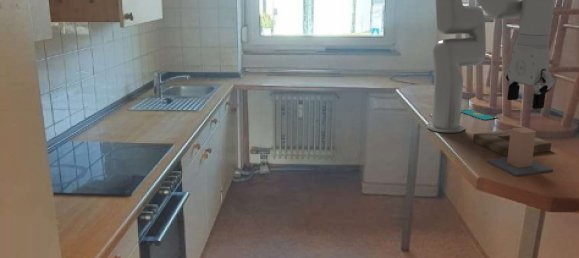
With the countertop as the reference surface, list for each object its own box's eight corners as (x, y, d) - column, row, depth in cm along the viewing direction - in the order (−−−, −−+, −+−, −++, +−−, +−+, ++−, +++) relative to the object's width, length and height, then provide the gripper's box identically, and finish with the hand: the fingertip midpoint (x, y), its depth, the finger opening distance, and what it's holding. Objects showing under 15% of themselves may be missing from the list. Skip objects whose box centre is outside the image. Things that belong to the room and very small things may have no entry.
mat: (487, 161, 145) (487, 159, 144) (521, 157, 148) (522, 155, 148) (515, 176, 134) (515, 174, 133) (552, 170, 137) (553, 168, 136)
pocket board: (472, 141, 163) (473, 133, 163) (514, 136, 167) (515, 129, 167) (505, 156, 149) (506, 148, 148) (550, 150, 153) (551, 143, 152)
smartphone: (483, 119, 187) (457, 110, 200) (483, 121, 187) (457, 112, 201) (499, 117, 189) (472, 108, 203) (499, 119, 189) (472, 110, 203)
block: (507, 162, 142) (510, 128, 139) (520, 160, 143) (524, 127, 140) (517, 167, 138) (521, 133, 135) (531, 165, 139) (535, 131, 136)
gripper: (499, 37, 138) (492, 97, 143) (545, 45, 122) (536, 113, 127) (522, 36, 140) (514, 95, 145) (570, 44, 124) (560, 110, 129)
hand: (524, 103), depth 136 cm, fingers open, 9 cm apart
